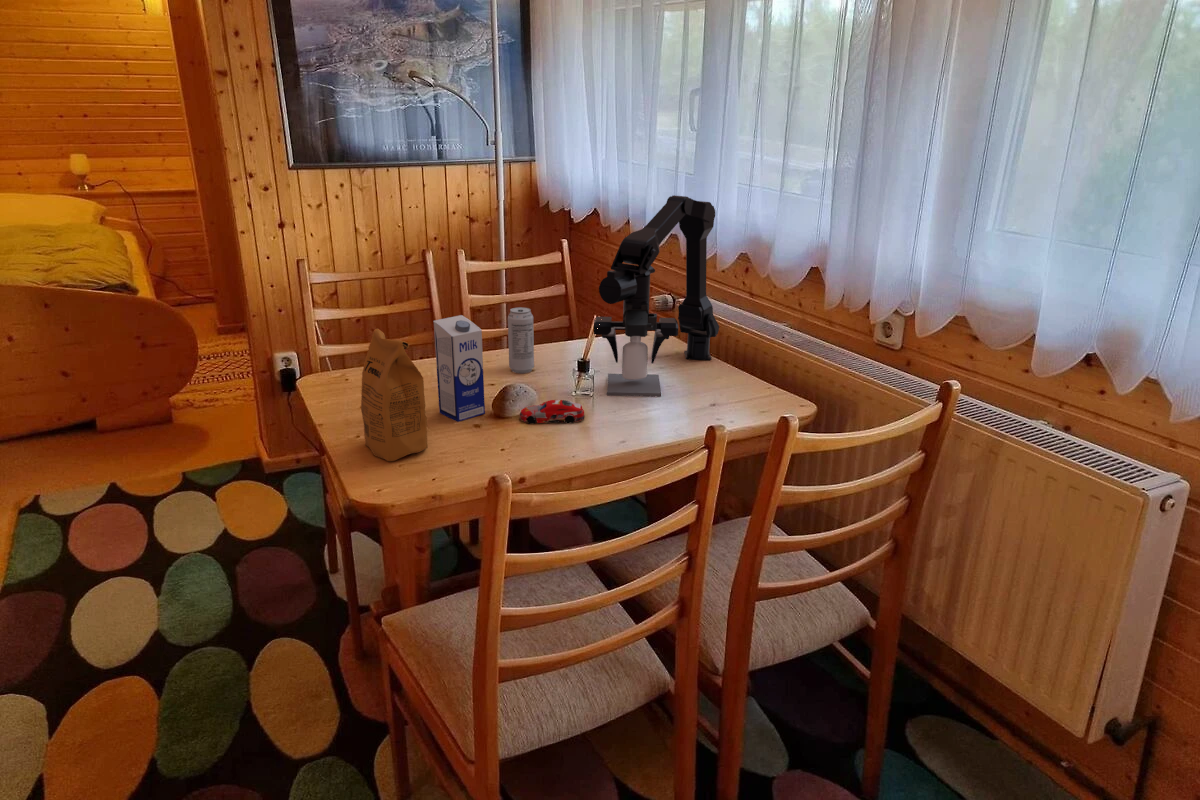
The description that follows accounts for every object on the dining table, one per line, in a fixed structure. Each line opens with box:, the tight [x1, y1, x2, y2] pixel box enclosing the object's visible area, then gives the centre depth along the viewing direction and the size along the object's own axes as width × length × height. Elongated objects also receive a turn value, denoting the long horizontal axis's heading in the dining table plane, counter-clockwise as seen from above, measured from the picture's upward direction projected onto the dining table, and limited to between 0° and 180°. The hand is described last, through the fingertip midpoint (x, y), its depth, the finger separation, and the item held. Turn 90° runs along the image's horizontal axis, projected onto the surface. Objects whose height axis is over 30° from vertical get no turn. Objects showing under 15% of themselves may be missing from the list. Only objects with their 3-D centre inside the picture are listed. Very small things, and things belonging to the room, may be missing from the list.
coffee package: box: [360, 328, 429, 462], centre depth 140 cm, size 10×12×22 cm
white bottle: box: [621, 336, 649, 380], centre depth 175 cm, size 4×6×12 cm
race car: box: [519, 399, 585, 425], centre depth 158 cm, size 13×5×4 cm, turn 93°
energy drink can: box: [507, 306, 535, 374], centre depth 185 cm, size 6×6×15 cm
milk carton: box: [433, 314, 486, 423], centre depth 157 cm, size 7×7×20 cm
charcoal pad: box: [606, 373, 662, 398], centre depth 178 cm, size 13×12×1 cm
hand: (634, 362), depth 176 cm, fingers closed on white bottle, 8 cm apart
